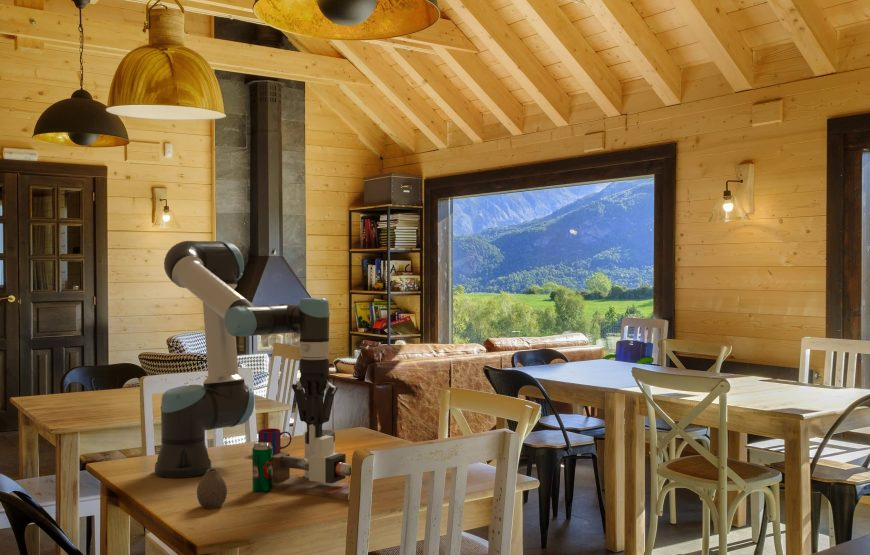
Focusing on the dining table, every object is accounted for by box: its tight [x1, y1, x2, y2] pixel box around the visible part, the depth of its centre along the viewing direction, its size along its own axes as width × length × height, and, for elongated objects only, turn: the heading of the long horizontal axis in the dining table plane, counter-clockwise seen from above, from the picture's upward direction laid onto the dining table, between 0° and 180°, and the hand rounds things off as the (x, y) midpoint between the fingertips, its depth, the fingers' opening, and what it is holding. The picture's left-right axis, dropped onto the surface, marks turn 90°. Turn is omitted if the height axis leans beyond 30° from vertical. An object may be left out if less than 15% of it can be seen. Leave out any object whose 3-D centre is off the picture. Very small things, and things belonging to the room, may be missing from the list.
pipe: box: [280, 455, 351, 477], centre depth 218 cm, size 24×3×3 cm, turn 63°
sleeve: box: [309, 435, 339, 483], centre depth 217 cm, size 5×6×11 cm
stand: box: [272, 452, 351, 501], centre depth 218 cm, size 26×10×8 cm, turn 63°
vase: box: [196, 468, 228, 510], centre depth 202 cm, size 7×7×9 cm
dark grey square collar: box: [325, 452, 347, 484], centre depth 216 cm, size 2×6×6 cm, turn 153°
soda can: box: [251, 442, 274, 494], centre depth 216 cm, size 5×5×12 cm
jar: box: [304, 429, 336, 478], centre depth 231 cm, size 9×8×12 cm
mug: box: [257, 428, 292, 455], centre depth 261 cm, size 7×10×7 cm
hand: (314, 449), depth 218 cm, fingers closed
